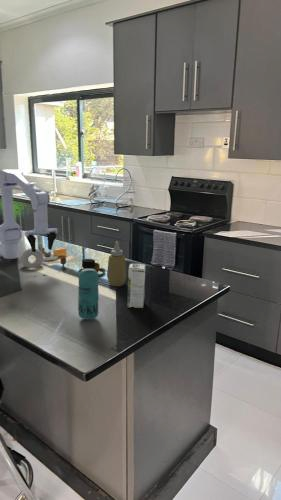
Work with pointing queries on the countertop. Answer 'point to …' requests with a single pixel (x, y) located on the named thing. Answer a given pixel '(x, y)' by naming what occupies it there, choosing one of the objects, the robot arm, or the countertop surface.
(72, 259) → the board
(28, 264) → the donut
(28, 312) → the countertop surface
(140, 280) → the syrup box
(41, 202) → the robot arm
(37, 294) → the countertop surface
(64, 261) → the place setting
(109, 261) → the squeeze bottle
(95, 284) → the beverage bottle
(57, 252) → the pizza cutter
